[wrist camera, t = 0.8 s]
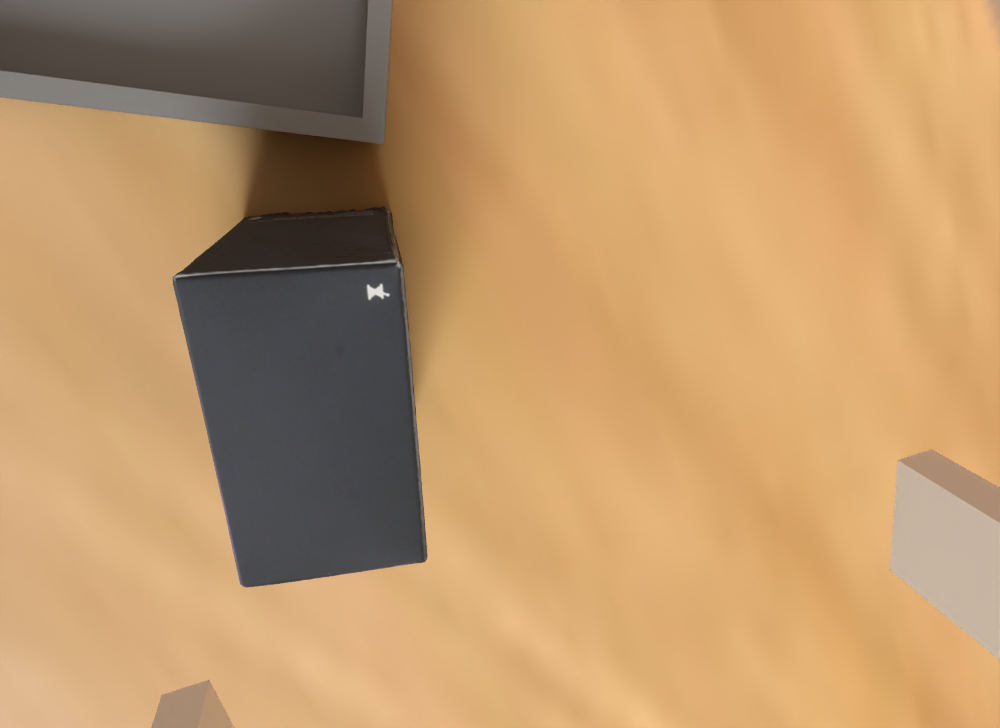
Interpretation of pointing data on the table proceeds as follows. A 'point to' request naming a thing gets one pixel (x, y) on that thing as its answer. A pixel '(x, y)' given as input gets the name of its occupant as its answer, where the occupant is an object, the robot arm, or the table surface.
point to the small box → (308, 393)
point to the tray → (206, 60)
